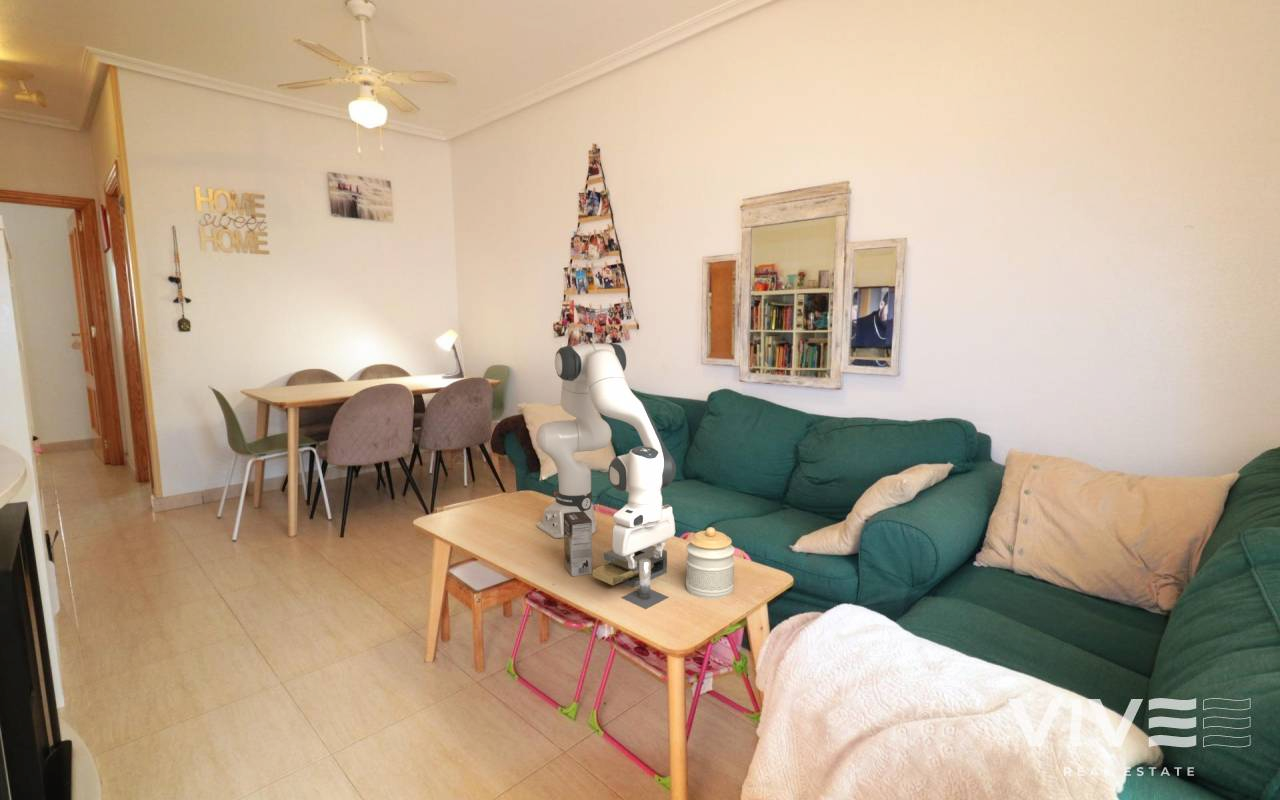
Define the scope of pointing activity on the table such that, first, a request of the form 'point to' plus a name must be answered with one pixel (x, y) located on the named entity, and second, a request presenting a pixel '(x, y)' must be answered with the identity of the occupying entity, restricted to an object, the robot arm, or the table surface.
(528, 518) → the table surface
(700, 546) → the jar
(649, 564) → the pin
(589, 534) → the coffee box
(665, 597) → the mat
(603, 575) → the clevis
